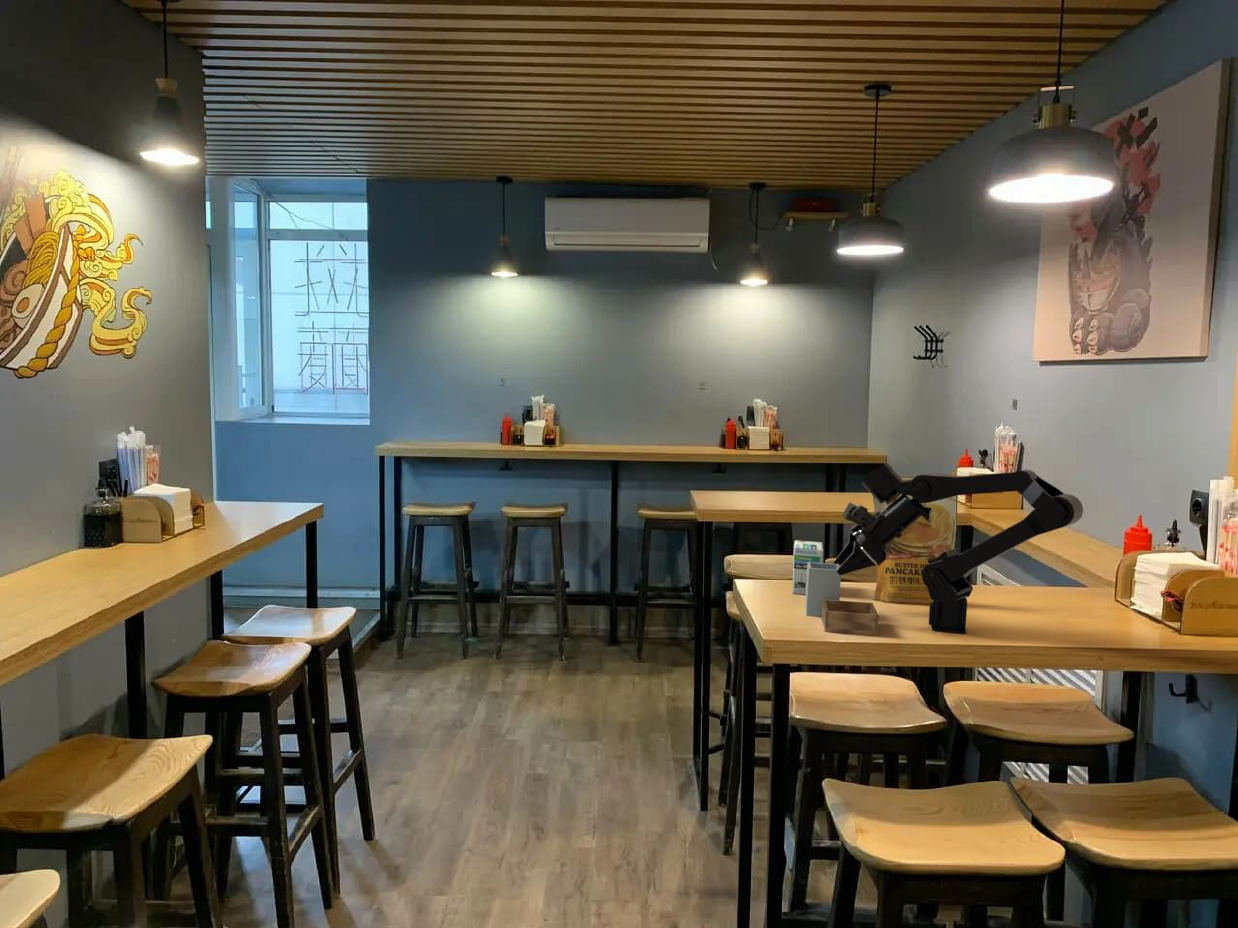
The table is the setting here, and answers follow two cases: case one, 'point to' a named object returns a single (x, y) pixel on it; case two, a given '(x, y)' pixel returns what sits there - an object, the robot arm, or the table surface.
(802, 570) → the light bulb box
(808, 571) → the grey crate
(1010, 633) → the table surface
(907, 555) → the pancake mix bag
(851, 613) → the walnut crate
